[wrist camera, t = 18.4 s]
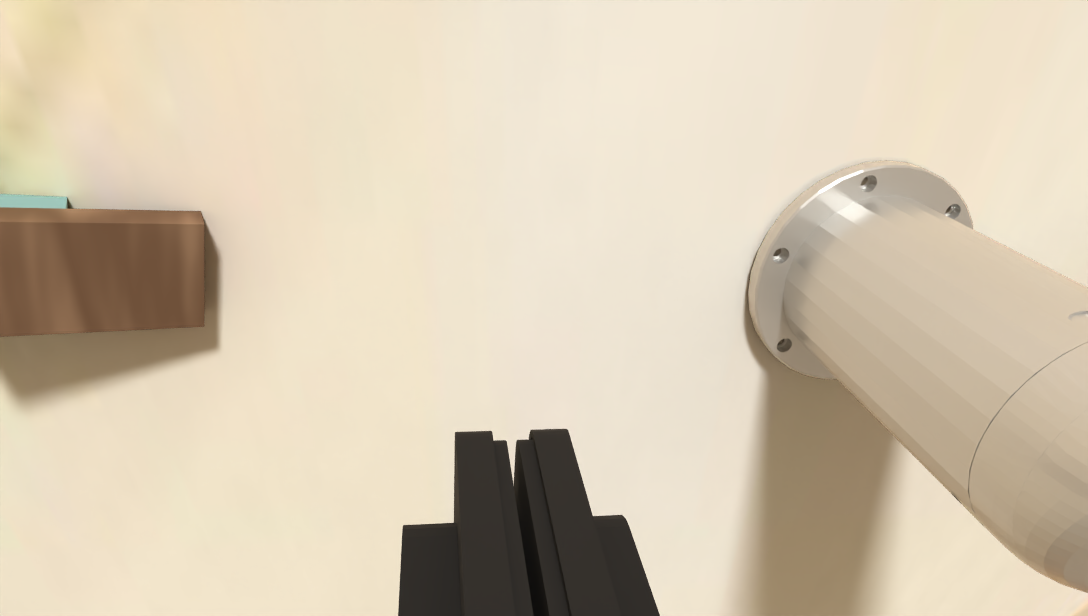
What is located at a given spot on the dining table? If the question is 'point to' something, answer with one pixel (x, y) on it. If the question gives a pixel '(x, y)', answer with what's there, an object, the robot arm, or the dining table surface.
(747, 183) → the dining table surface
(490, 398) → the dining table surface
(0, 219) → the domino
